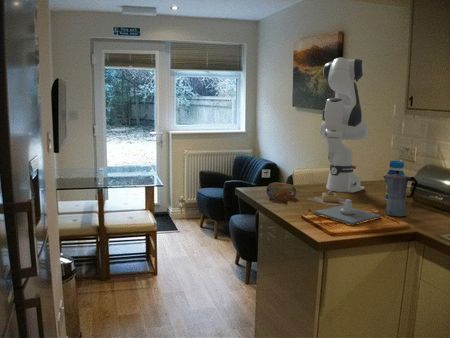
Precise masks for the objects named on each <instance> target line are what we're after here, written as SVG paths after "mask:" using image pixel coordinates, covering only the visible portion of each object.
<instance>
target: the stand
mask: <svg viewBox="0 0 450 338" xmlns="http://www.w3.org/2000/svg"><path fill="white" fill-rule="evenodd" d="M327 193H328V195H332V193H333V191H331V190H327ZM307 200H309V201H312V202H316V203H319V204H323V205H327V206H330V207H336V206H338V205H339V206H341V205H344V203H345V200H346V199H345V198H341V197H337V202H323V200H322V195H320V196H315V197H308V198H307ZM353 202H354V201H352V200H351V203H353Z"/></svg>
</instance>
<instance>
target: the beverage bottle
mask: <svg viewBox="0 0 450 338" xmlns="http://www.w3.org/2000/svg"><path fill="white" fill-rule="evenodd" d="M389 168H390V169H388V172H387V173H386V175H393V174H396V171H397V170H398V171H399V174H400V175H404V176H406V175H405V172H404V170H403V169H404V168H405V162H404V161H402V160H390V161H389ZM385 187H386V188H385V196H384V199H385V200H386V201H388V190H387V184H386V186H385Z"/></svg>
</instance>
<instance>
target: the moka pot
mask: <svg viewBox="0 0 450 338" xmlns="http://www.w3.org/2000/svg"><path fill="white" fill-rule="evenodd" d="M404 175H405V174H404ZM404 175H400V174H399V171H398V170H397V171H396V174H393V175H387V174H386V175H383V176H382V177H383V179H384V181H385V184H386V185H387V190H388V201H387V200H386V201H387V203H386V208H385V215H387V216H389V217H391V216H392V217H407V207H406V206H407V205H406V198H407V199H411V198H413V196H414V194H415V191H416V189H417V187H418V184H419V182H418V180H417V179H416V178H415V176H407V175H405V176H404ZM409 182H414V185H413V187H412V188H411V189H412V190H411V192H410V194H409V195H407V190H408V183H409Z"/></svg>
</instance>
